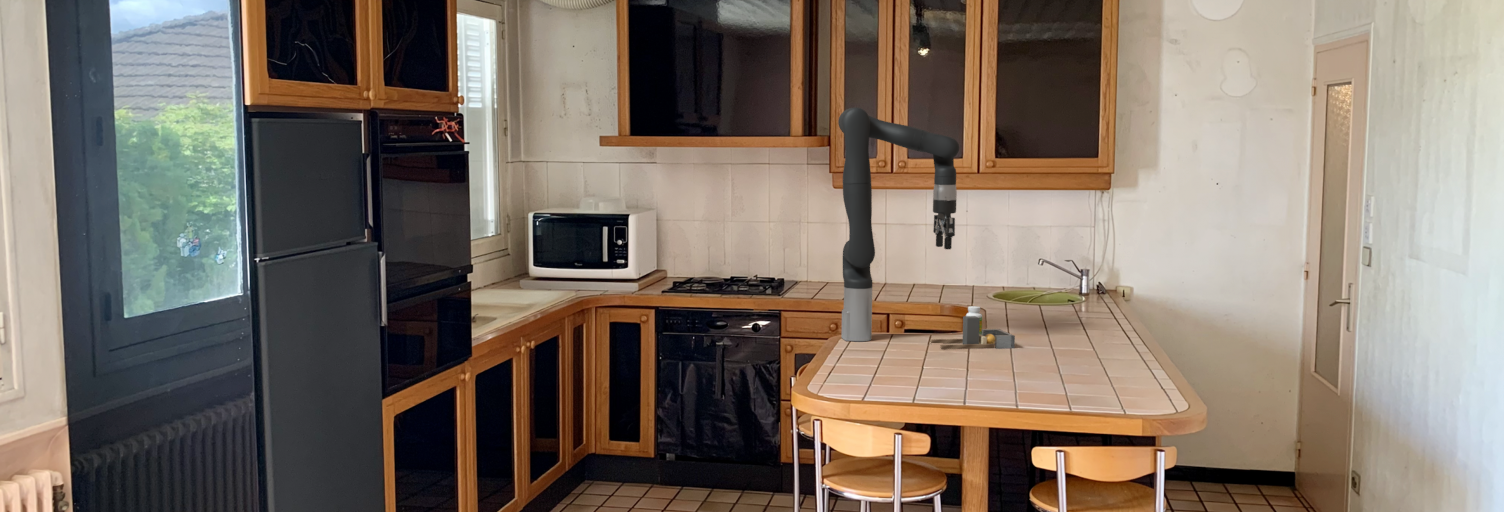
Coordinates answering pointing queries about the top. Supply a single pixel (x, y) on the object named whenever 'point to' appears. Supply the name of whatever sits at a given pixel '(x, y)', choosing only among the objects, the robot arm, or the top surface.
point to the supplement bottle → (975, 312)
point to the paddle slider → (972, 331)
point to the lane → (959, 346)
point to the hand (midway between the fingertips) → (943, 248)
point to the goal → (1001, 338)
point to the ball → (990, 339)
